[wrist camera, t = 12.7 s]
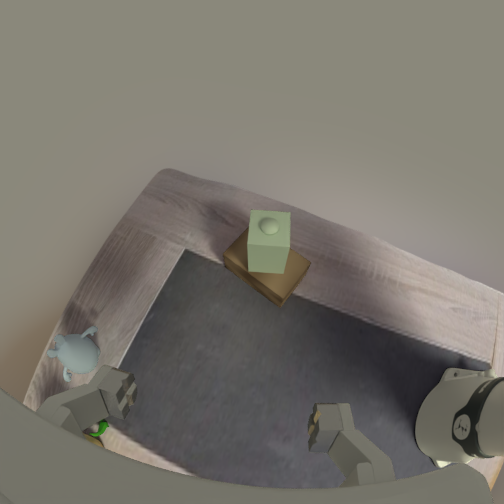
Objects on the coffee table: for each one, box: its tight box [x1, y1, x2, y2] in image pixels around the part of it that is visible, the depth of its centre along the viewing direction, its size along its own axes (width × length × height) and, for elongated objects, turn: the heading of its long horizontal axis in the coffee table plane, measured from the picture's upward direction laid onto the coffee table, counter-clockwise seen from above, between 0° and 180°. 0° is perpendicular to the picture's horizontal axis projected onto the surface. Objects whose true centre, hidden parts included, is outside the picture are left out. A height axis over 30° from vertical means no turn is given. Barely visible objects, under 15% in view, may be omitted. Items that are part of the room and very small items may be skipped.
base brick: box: [223, 227, 311, 307], centre depth 43 cm, size 11×7×5 cm, turn 51°
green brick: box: [247, 210, 290, 274], centre depth 37 cm, size 5×5×8 cm
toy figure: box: [47, 326, 100, 382], centre depth 32 cm, size 11×6×12 cm, turn 153°
